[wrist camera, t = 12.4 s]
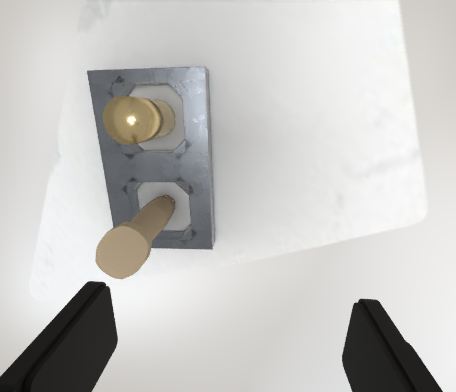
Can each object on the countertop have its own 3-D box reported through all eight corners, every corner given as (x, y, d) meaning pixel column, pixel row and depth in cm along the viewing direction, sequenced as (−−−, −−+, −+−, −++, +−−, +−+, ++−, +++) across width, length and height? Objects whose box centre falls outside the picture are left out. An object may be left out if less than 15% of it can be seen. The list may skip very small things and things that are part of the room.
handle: (142, 209, 41) (86, 260, 27) (164, 179, 40) (116, 217, 25) (167, 227, 42) (125, 286, 28) (189, 198, 40) (157, 245, 26)
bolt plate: (100, 73, 36) (87, 70, 33) (208, 70, 34) (204, 66, 32) (125, 238, 43) (116, 247, 40) (214, 240, 42) (212, 249, 39)
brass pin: (138, 100, 36) (99, 96, 27) (173, 99, 36) (146, 95, 26) (142, 136, 38) (107, 145, 28) (176, 136, 37) (151, 144, 28)
